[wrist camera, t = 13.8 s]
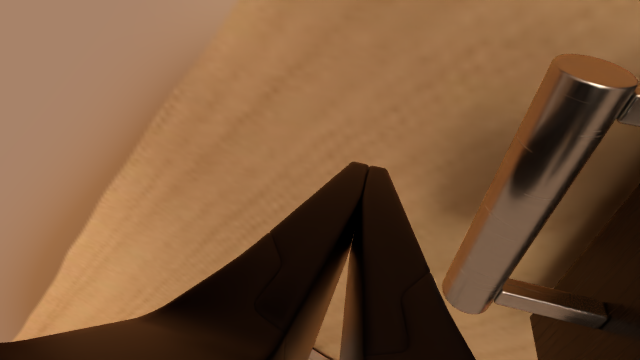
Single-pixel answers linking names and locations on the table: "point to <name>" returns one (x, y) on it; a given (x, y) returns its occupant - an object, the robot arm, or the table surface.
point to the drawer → (537, 206)
